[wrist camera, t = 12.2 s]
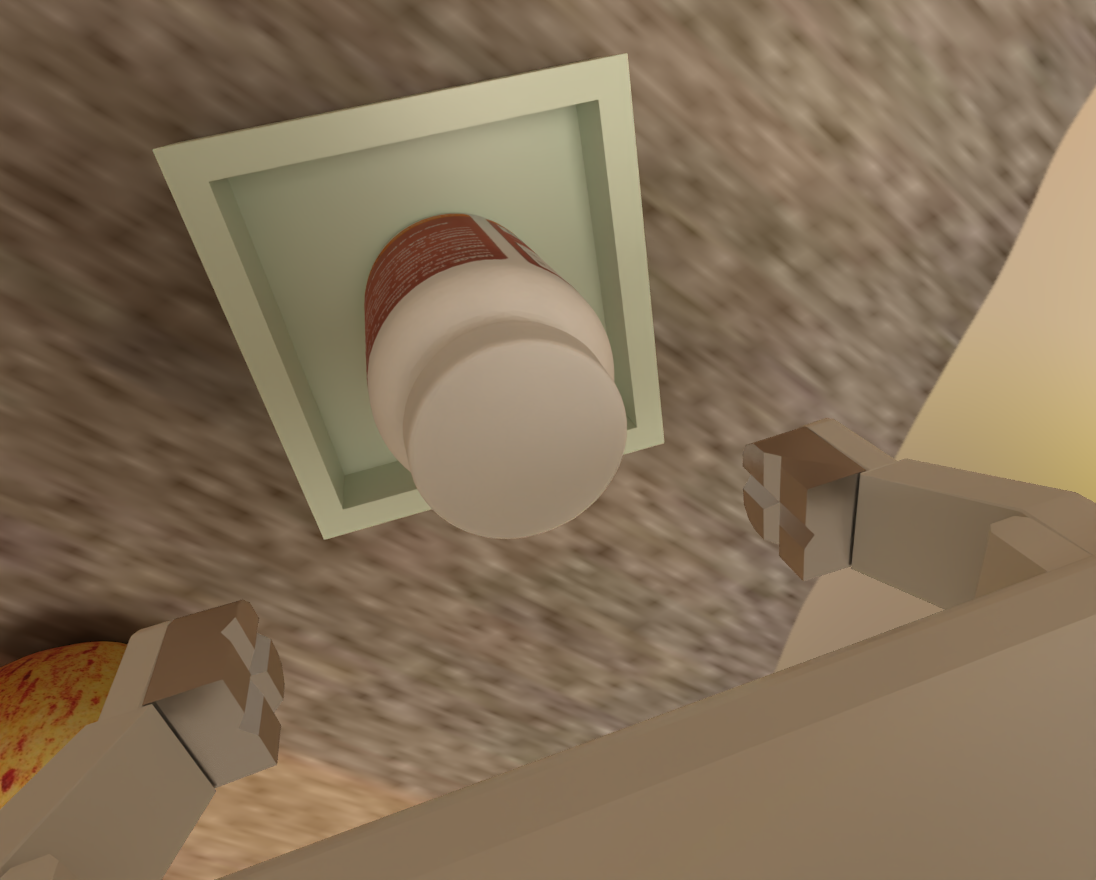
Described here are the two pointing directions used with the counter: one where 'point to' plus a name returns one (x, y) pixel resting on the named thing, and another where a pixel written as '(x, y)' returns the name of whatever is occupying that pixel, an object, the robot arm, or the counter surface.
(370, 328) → the pill bottle
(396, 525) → the counter surface
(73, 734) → the apple
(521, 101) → the tray
